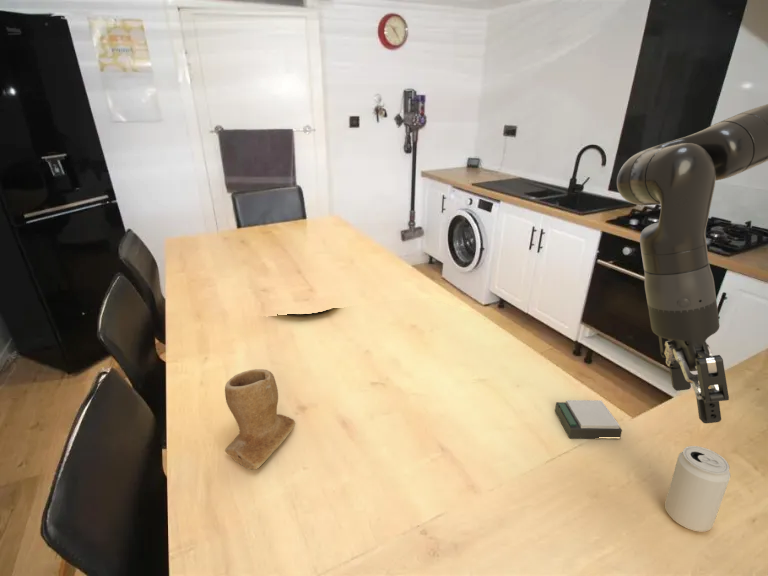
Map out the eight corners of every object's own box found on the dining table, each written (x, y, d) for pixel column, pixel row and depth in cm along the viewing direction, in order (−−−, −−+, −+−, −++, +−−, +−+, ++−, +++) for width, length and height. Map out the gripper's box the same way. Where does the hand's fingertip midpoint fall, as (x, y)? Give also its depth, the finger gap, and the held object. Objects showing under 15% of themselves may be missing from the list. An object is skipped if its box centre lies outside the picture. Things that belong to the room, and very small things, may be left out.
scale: (600, 411, 91) (602, 399, 90) (620, 439, 83) (622, 426, 82) (554, 411, 92) (556, 399, 91) (569, 438, 83) (571, 426, 82)
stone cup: (258, 414, 94) (249, 357, 88) (303, 426, 89) (295, 366, 84) (209, 460, 81) (195, 396, 75) (258, 477, 76) (247, 410, 71)
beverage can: (669, 494, 70) (685, 437, 66) (715, 517, 66) (736, 458, 62) (658, 517, 66) (675, 458, 62) (708, 543, 62) (729, 482, 57)
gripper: (744, 309, 47) (757, 431, 50) (687, 278, 60) (701, 376, 64) (670, 322, 49) (687, 437, 53) (631, 289, 63) (647, 383, 66)
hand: (695, 404), depth 58 cm, fingers open, 8 cm apart
